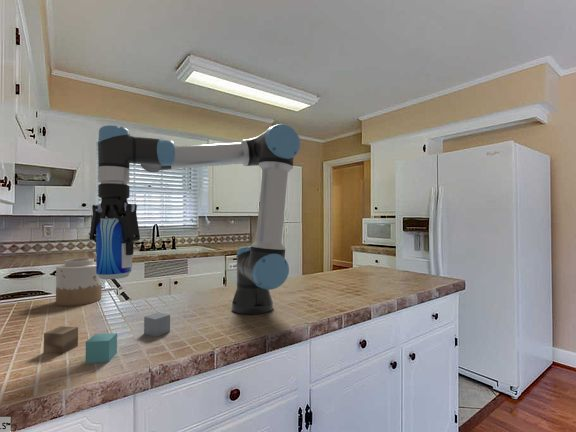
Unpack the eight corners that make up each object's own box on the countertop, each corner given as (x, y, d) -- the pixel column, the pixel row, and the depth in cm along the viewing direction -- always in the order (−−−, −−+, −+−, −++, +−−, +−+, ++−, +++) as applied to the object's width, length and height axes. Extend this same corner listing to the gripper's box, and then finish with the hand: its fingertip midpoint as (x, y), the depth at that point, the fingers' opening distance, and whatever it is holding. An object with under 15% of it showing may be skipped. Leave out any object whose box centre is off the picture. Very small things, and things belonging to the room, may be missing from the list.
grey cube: (170, 331, 93) (170, 314, 93) (155, 337, 89) (155, 319, 89) (158, 328, 95) (158, 312, 95) (144, 333, 91) (144, 316, 91)
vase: (46, 303, 123) (47, 260, 123) (84, 295, 137) (85, 256, 137) (72, 308, 117) (73, 263, 117) (109, 298, 131) (110, 258, 131)
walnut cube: (77, 346, 82) (78, 326, 82) (62, 354, 77) (62, 333, 77) (60, 345, 83) (60, 326, 83) (43, 353, 78) (43, 333, 78)
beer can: (105, 274, 90) (105, 218, 90) (136, 273, 91) (136, 218, 91) (89, 280, 82) (89, 218, 82) (123, 279, 82) (123, 218, 83)
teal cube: (117, 353, 78) (117, 332, 78) (109, 362, 73) (109, 340, 73) (95, 354, 77) (95, 334, 77) (85, 363, 72) (85, 341, 72)
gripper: (154, 183, 86) (155, 266, 86) (98, 186, 94) (98, 262, 93) (132, 180, 79) (133, 270, 79) (73, 184, 87) (73, 266, 86)
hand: (114, 266), depth 86 cm, fingers closed on beer can, 8 cm apart
